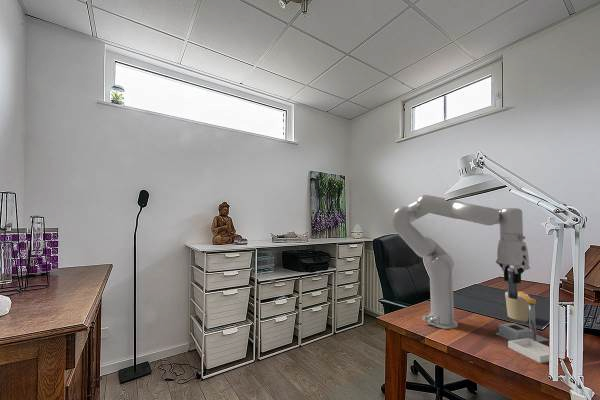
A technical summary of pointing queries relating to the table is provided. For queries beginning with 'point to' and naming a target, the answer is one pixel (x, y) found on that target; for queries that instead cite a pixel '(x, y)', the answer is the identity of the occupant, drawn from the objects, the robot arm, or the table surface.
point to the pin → (512, 284)
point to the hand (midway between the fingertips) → (512, 281)
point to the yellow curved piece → (527, 298)
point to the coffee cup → (517, 308)
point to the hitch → (521, 329)
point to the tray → (531, 349)
